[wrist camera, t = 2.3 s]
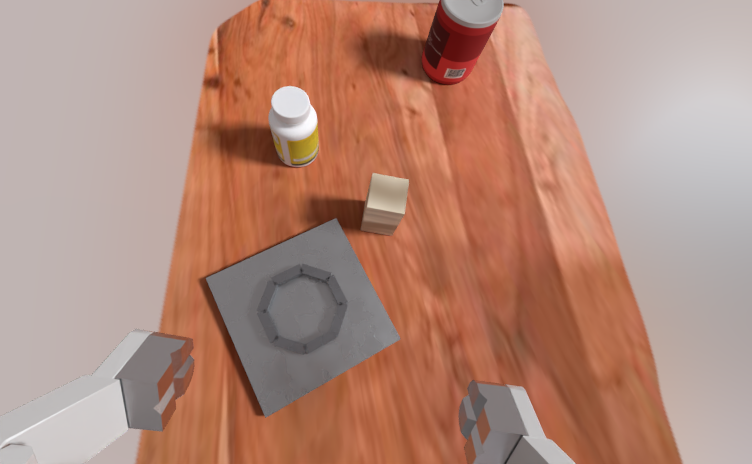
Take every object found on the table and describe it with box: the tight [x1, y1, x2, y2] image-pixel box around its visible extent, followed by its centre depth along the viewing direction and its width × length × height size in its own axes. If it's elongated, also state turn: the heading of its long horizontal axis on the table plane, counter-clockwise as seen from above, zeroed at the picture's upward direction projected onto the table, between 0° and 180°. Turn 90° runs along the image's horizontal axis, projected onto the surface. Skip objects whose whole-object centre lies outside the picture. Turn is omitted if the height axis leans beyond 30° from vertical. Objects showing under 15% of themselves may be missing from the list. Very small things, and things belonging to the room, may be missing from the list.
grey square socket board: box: [206, 218, 400, 418], centre depth 40 cm, size 16×16×3 cm
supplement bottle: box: [269, 86, 319, 167], centre depth 43 cm, size 5×5×10 cm
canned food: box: [422, 0, 504, 85], centre depth 49 cm, size 8×8×11 cm
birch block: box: [361, 173, 409, 236], centre depth 42 cm, size 4×4×8 cm
